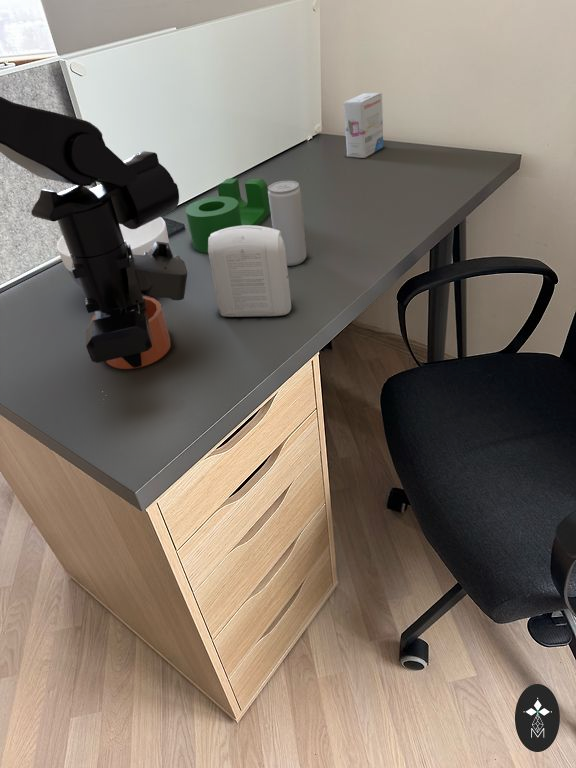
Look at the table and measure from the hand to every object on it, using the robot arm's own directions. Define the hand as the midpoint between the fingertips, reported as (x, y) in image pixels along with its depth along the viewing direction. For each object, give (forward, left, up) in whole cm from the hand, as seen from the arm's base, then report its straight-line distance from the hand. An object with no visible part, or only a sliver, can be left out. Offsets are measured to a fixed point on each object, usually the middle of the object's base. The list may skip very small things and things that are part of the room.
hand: (137, 365), depth 69 cm
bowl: (0, +24, -2) cm, 24 cm away
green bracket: (+19, +39, -2) cm, 43 cm away
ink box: (+57, +68, -2) cm, 89 cm away
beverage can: (+26, +22, -2) cm, 34 cm away
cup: (0, +7, -2) cm, 7 cm away
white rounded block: (+17, +9, -2) cm, 19 cm away
